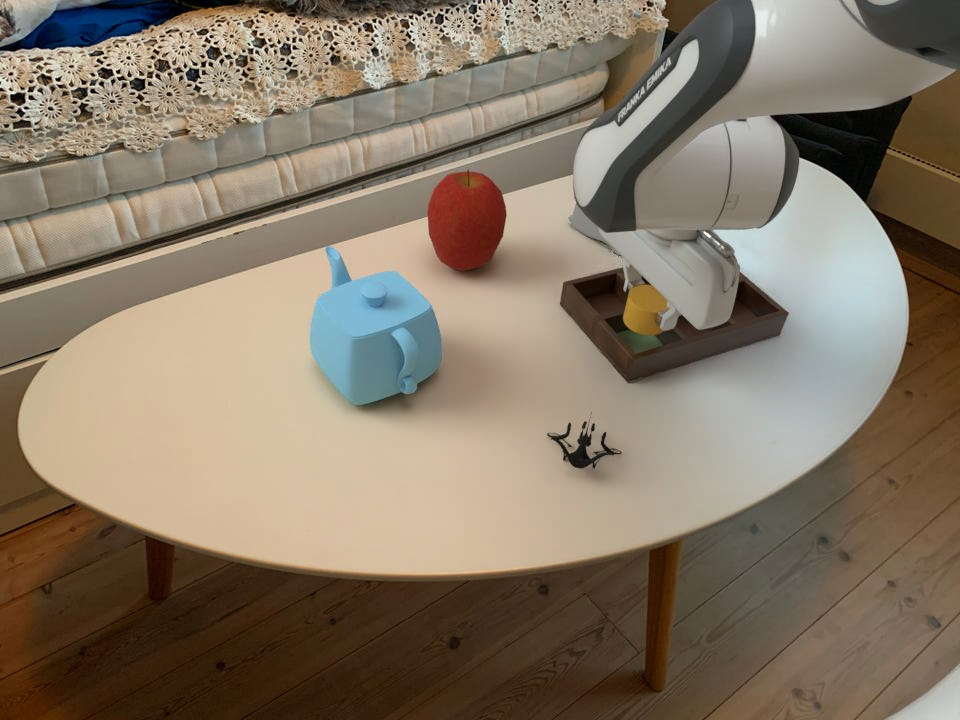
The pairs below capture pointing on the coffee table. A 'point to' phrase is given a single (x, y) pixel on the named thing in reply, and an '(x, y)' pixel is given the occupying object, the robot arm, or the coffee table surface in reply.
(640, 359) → the grid
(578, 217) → the grey flat piece
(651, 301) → the cylinder
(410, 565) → the coffee table surface
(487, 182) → the apple
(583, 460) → the creature
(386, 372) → the teapot
